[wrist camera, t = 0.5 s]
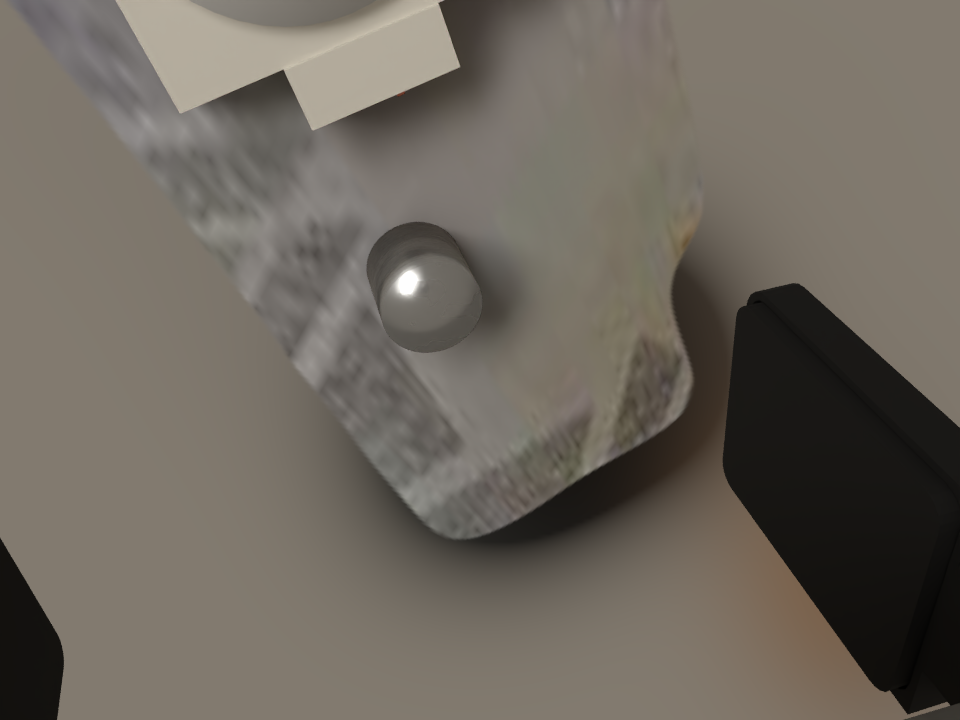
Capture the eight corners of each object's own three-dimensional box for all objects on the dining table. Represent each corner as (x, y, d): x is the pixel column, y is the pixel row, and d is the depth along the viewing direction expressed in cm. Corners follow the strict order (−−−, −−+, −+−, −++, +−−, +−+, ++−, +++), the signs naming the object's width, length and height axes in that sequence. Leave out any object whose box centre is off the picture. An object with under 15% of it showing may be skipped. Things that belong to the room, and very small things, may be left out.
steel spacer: (394, 206, 40) (412, 248, 36) (477, 243, 42) (501, 285, 38) (349, 287, 41) (363, 333, 38) (431, 318, 43) (450, 364, 40)
